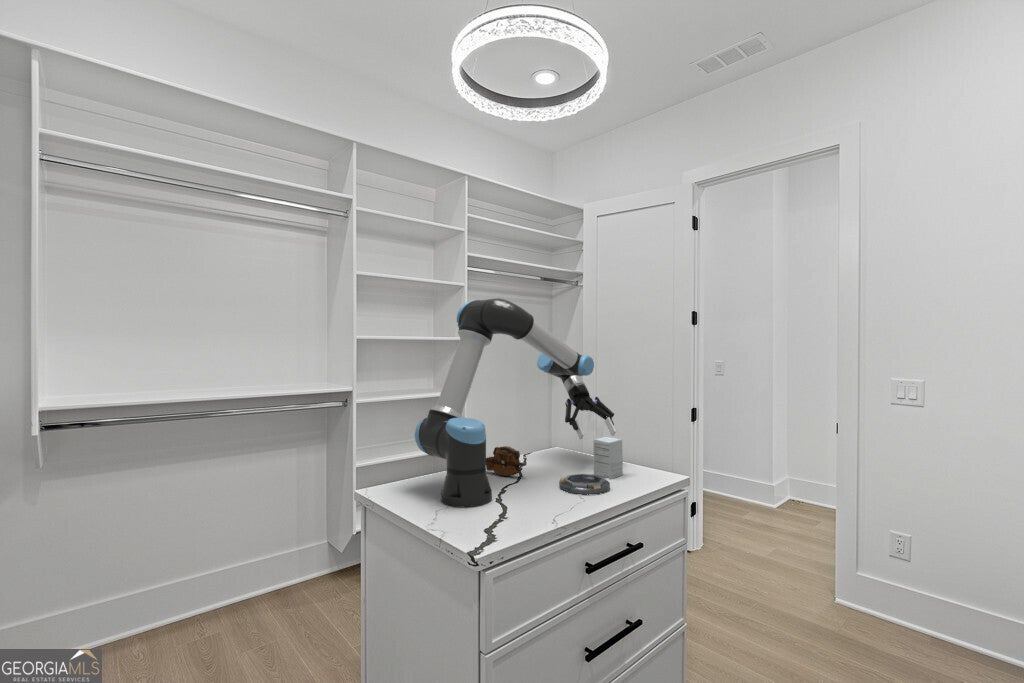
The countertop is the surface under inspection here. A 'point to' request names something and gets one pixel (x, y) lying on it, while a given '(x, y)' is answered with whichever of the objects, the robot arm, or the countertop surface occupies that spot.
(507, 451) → the wooden carving
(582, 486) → the ring
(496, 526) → the countertop surface
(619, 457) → the supplement box
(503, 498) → the countertop surface
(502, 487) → the countertop surface
